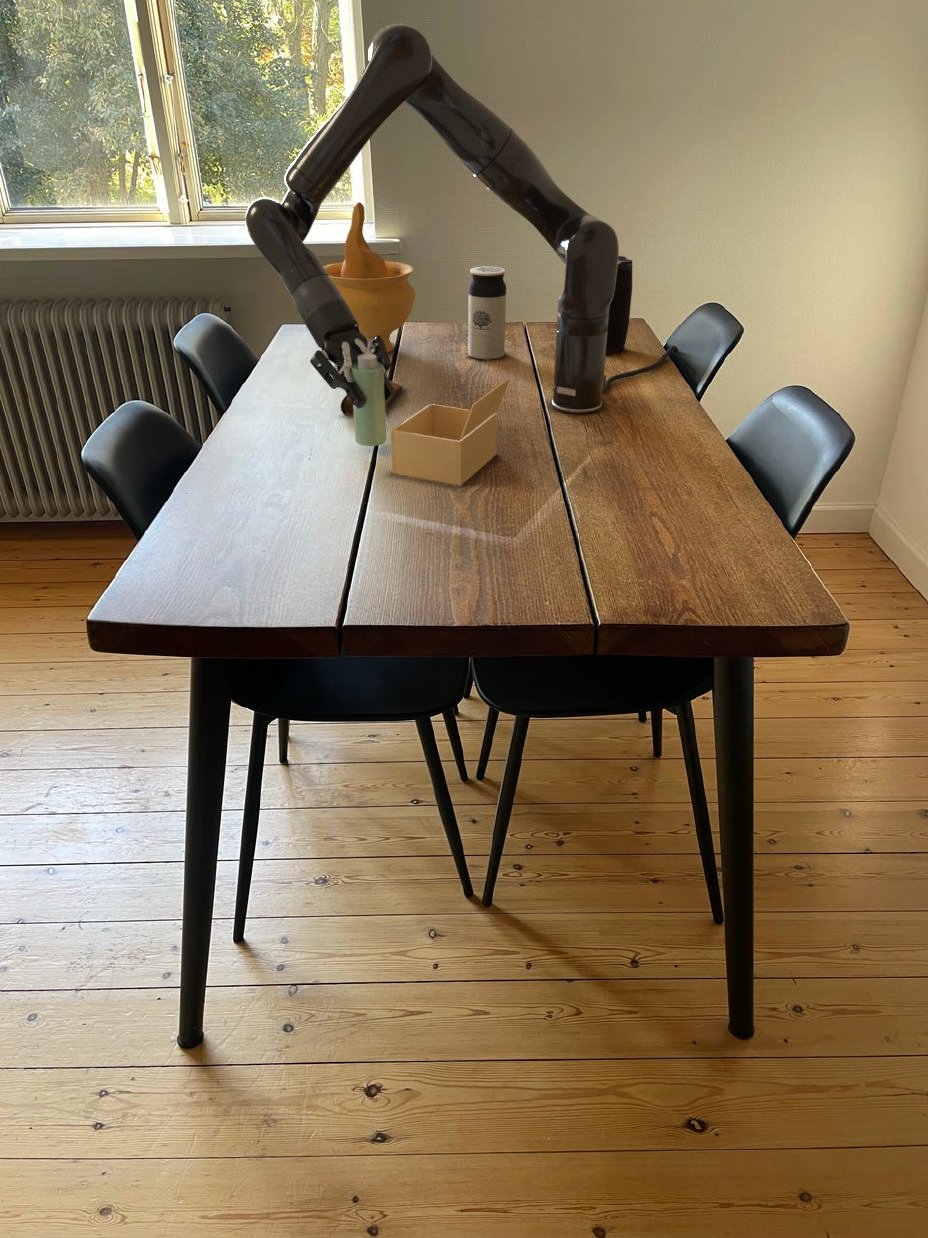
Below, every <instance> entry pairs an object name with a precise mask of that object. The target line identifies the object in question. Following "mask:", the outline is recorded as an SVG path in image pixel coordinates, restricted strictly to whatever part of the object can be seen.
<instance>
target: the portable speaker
mask: <svg viewBox="0 0 928 1238" xmlns="http://www.w3.org/2000/svg"><path fill="white" fill-rule="evenodd" d="M633 262H634V261H633V260H632V259H629V258H627V257H626V256H624V255H619V256H618V266H617V275H616V283H615V291H614V296H613V299H612V301H611V303H610V307H609V317H608V329H607V342H606V354H605V356H610V354H611V353H612V352H615V351H619V352H621V353H625V345H626V341H627V337H628V331H629V325H630V316H631V305H632V295H633Z"/></svg>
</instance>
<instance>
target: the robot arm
mask: <svg viewBox="0 0 928 1238" xmlns="http://www.w3.org/2000/svg"><path fill="white" fill-rule="evenodd" d="M369 44H370V45H369V48H368V62H367V63H366V65H365V67H364V69H363V71H362V73H361V75H360V77H359V78H358V80H357V82H356V84H355V85H354V87H353V88H352V90H351V91H350V93H348V95H347V97H346V98H345V100H344V101H343V102H342V103H341V104H340V106H339V107H338V108H337V109H336V110H335V111H334V113H333V114H331V116H330V117H329V118H328V119H327V120H326V121H325V122H324V123H323V124H322V126H321V127H319V129H318V130H317V131H316V133H315V134H314V135H313V136H312V137H311V138H310V139H309V141H308V142H307V143H306V144H305V146H304V147H303V149H302V150H301V151H300V153H299V154H298V156H297V157H296V158H295V160H294V161H293V162H292V163H291V164H290V166H289V167H288V169H287V170H286V173H285V175H284V183H285V185H286V187H287V188H288V190H287V192H286V194H285V196H284V198H283V201H282V202H281V203H280V202H279V201H277V200H275V199H273V198H269V197H260V198H257V199H255V200H254V201H252V202H251V203H250V205H248V208H247V210H246V213H245V226H246V231H247V232H248V235H249V237H250V239H251V240H252V242H253V244H254V245H255V247H256V248H257V250H258V251H259V252H260V254H262V256H263V257H264V258H265V260H266V261H267V262H268V263H269V265H270V266H271V268H273V270H275V272H276V273H277V274H278V275H279V277H280V279H281V281H282V283H283V285H284V286H285V289H286V290H287V292H288V294H289V295H290V297H291V299H292V301H293V303H294V305H295V309H296V310H297V312H298V314H299V316H300V318H301V319H302V321H303V323H304V325H305V327H306V328H307V330H308V332H309V333H310V335H311V337H312V338H313V340H314V342H315V344H316V346H317V347H318V348H319V349H317V350H316V351H315V352H314V354H313V355H312V357H311V358H310V360H309V362H310V365H312V367H313V368H314V369H315V370H316V371H317V373H318V374H319V375H320V376H321V378H322V379H323V380H324V381H325V383H326V384H327V385H328V386H329V388H330V389H332V390H335V389H337V388H338V389H341V390H343V391H344V392H345V393H346V395H348V397H349V399H350V400H351V402H352V404H353V405H354V406H356V407H357V408H358V409H359V408H362V407H363V406H364V405H365V404H366V399H365V397H364V395H363V394H362V392H361V390H360V388H359V387H358V385H357V383H356V382H353V375H352V370H351V368H352V365H354V364H356V363H358V356H359V355H362V354H373V355H376V357H377V363H380V364H382V365H383V366H384V384H385V400H389V399H390V398H391V397H392V396H393V395H394V388H393V386H392V385H391V383H390V381H391V380H390V381H389V378H388V376H387V373H388V371H389V370H390V369H391V368H392V367H393V364H392V360H391V358H390V356H389V352H387V350H386V348H385V345H384V342H383V340H382V338H381V337H380V336H376V337H375V339H366V337H365V336H363V335H362V334H361V333H360V331H359V327H358V322H357V320H356V319H355V317H354V315H353V313H352V312H351V310H350V308H349V307H348V305H347V303H346V301H345V300H344V298H343V296H342V294H341V293H340V291H339V289H338V288H337V286H336V285H335V284H334V283H333V281H332V280H331V278H330V277H329V275H328V273H327V272H326V270H325V268H324V265H323V263H322V261H321V260H320V259H319V257H318V255H317V254H316V253H315V252H314V251H313V250H312V249H311V248H310V247H308V246H307V245H306V243H304V242H305V240H306V238H307V237H308V235H309V233H310V231H311V229H312V226H313V224H314V222H315V221H316V218H317V216H318V214H319V210H320V209H321V206H322V204H323V203H324V201H325V200H326V198H328V196H329V195H330V194H331V192H332V191H333V189H335V187H336V185H337V184H338V183H339V182H340V180H341V179H342V177H343V176H344V175H345V173H346V172H347V171H348V170H349V168H350V167H351V165H352V164H353V162H354V161H355V160H356V158H357V157H358V155H359V154H360V153H361V151H362V150H363V149H364V147H365V146H366V144H368V142H369V140H370V139H371V138H372V137H373V136H374V134H375V133H376V132H377V131H378V129H379V128H380V127H381V126H382V125H383V124H384V122H386V121H387V120H388V118H389V117H390V116H391V115H392V114H393V113H394V112H395V111H396V110H397V109H398V108H399V107H401V106H402V105H403V103H405V104H406V105H407V106H408V107H409V108H411V110H413V111H414V112H416V113H417V114H418V115H419V116H420V117H422V119H424V120H425V121H426V122H427V124H429V126H431V127H432V129H433V130H434V131H435V132H436V133H437V135H438V136H439V137H440V139H441V140H442V141H443V142H444V143H445V145H446V146H447V147H448V148H449V150H450V151H451V152H452V153H453V154H454V155H455V157H456V158H457V159H458V160H459V161H460V162H461V163H462V165H464V167H465V168H466V169H467V170H468V171H469V172H470V173H471V174H472V175H473V176H474V177H475V178H476V179H477V180H478V181H479V182H480V183H481V184H482V185H483V186H484V187H485V188H486V189H487V190H488V191H489V192H490V193H492V195H494V196H495V197H497V198H498V199H499V200H500V201H502V203H504V204H505V205H506V206H507V207H509V208H510V209H511V210H513V211H514V212H516V214H518V215H520V216H522V217H523V218H524V219H525V220H527V221H528V222H529V223H530V224H531V225H532V226H533V227H534V229H536V230H537V232H538V233H539V234H540V235H541V236H542V237H543V239H544V240H545V241H546V242H547V243H548V245H549V246H550V248H552V249H553V251H554V252H555V253H556V255H557V256H558V257H559V259H560V261H561V262H562V263H563V264H564V265H565V270H564V271H565V272H564V273H565V274H564V284H563V290H562V293H561V294H560V295H559V297H558V300H557V310H556V311H557V313H556V315H557V316H556V331H555V332H556V333H555V335H556V336H555V348H554V349H555V351H554V352H555V353H554V369H553V385H552V400H551V407H552V408H553V409H555V410H557V411H560V412H563V413H568V414H577V415H579V414H590V413H595V412H598V411H599V410H601V409H602V406H603V402H602V398H603V393H606V392H607V391H608V389H609V386H610V385H611V384H612V383H613V382H615V381H617V380H621V379H626V378H629V377H634V376H637V375H640V374H643V373H646V372H649V371H652V370H654V369H656V368H658V367H660V366H661V365H663V363H664V362H665V361H666V359H667V358H668V357H669V356H670V355H672V353H673V352H674V353H679V348H678V347H677V346H676V345H672V346H670V347H669V348H668V349H667V350H666V352H664V353H663V354H662V356H661V357H660V358H659V360H658V361H656V362H654V363H652V364H650V365H647V366H643V367H641V368H638V369H634V370H630V371H627V372H621V373H618V374H614V375H612V376H610V377H609V378H608V379H607V375H606V374H605V366H606V365H605V364H606V355H605V354H606V342H607V329H608V317H609V307H610V303H611V301H612V299H613V296H614V291H615V283H616V275H617V266H618V256H620V255H619V253H620V246H619V245H620V244H619V239H618V235H617V233H616V231H615V229H614V228H613V227H612V226H611V225H610V223H607V222H606V221H604V220H602V219H600V218H598V217H597V216H594V215H592V214H591V213H590V212H588V211H587V210H585V209H584V208H582V207H581V206H580V205H579V204H577V203H576V202H575V201H574V200H573V199H572V198H571V197H570V196H569V195H567V194H566V193H565V192H564V191H563V190H562V189H561V188H560V187H559V186H558V185H557V183H556V182H555V181H554V179H553V178H552V176H551V174H550V173H549V172H548V169H546V167H545V165H544V164H543V162H542V161H541V159H540V158H539V157H538V156H537V154H536V153H535V152H534V150H533V149H532V148H531V147H530V146H529V144H528V143H527V141H525V140H524V139H523V138H522V137H521V136H520V134H518V133H517V132H516V131H515V129H513V127H512V126H511V125H509V124H508V122H506V121H505V120H504V119H503V118H502V117H501V116H500V115H498V114H497V113H496V112H495V111H494V110H492V109H491V108H490V107H489V106H487V105H486V104H485V103H483V102H482V101H481V100H479V99H478V98H477V97H475V96H474V95H473V94H471V92H469V91H468V90H466V88H465V89H464V88H463V87H462V86H461V85H460V84H459V83H458V82H457V81H456V80H455V79H454V78H453V77H452V76H451V75H450V74H449V72H448V71H447V70H446V69H445V68H444V67H443V65H442V64H441V63H440V62H439V60H438V59H437V58H436V57H435V56H434V55H433V53H432V49H431V45H430V43H429V41H428V39H427V38H426V37H425V35H424V34H423V33H422V32H421V31H420V30H419V29H417V28H415V27H414V26H412V25H410V24H406V23H399V22H397V23H391V24H390V23H389V24H388V25H385V26H383V27H382V28H380V29H379V30H378V31H377V32H376V33H375V34H374V36H373V37H372V40H371V42H370V43H369ZM367 348H369V350H370V351H369V350H368V349H367ZM320 349H321V350H320ZM332 363H333V364H334V365H333V364H332Z"/></svg>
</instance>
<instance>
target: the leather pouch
mask: <svg viewBox="0 0 928 1238" xmlns="http://www.w3.org/2000/svg"><path fill="white" fill-rule="evenodd" d="M389 381H390V383H391V385H392V386H393V388H394V395H393V396H392V397H391V398H390V399H389V400H385V411H387V409H388V408H389V406H390V405H391V404H392V402H393V401H394V400H395V399H396V397H397V396H398V395H399V393H401V391H402V390H403V388H404V386H403V385H402V384H399V383H398V382H394V381H392V380H389ZM340 410H341V413H342V414H343V415H344V416H345V417H352V418H354V409H353V404H352V402H351V400H350V399H349V397H348V395H347V394H346V395H345V396H344V397H343V399H342V400H341V403H340Z"/></svg>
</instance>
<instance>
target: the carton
mask: <svg viewBox="0 0 928 1238" xmlns="http://www.w3.org/2000/svg"><path fill="white" fill-rule="evenodd" d="M470 410H471V409H467V408H461V407H455V406H450V405H443V404H436V403H429V404H427V405H426V406H425V407H423V408H422V409H420V410H419V411H417V412H416V413H414V414H413V415H411V416H409V417H408V418H407V419H405V420H404V421H402V422H400V423H399V424H398V425H396V426H395V427H393V428H392V429H391V430H390V453H391V454H390V455H391V472H392V474H396V475H402V476H406V477H412V478H417V479H421V480H427V481H433V482H439V483H444V484H450V485H455V486H459V487H460V486H462V485H463V484H464V483H465V482H467V481H468V480H469V479H470V478H472V477H473V476H474V475H475V474H476V473H477V472H478V471H480V469H481V468H483V467H484V466H485V465H486V464H487V463H488V462H489V461H491V460H492V459H493V458H494V457H495V456H496V455H497V421H498V419H497V418H498V417H497V416H498V415H497V413H496V412H495V413H494V414H493V415H491V416H490V417H489V418H487V419H486V420H485V421H484V422H482V423H481V424H480V425H479V426H477V427H476V428H475V429H473V430H472V431H471V432H470V433H468V434H467V435H466V436H465V437H463V438H460V437H461V434H462V432H463V429H464V426H465V424H466V421H467V418H468V415H469V413H470Z"/></svg>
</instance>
